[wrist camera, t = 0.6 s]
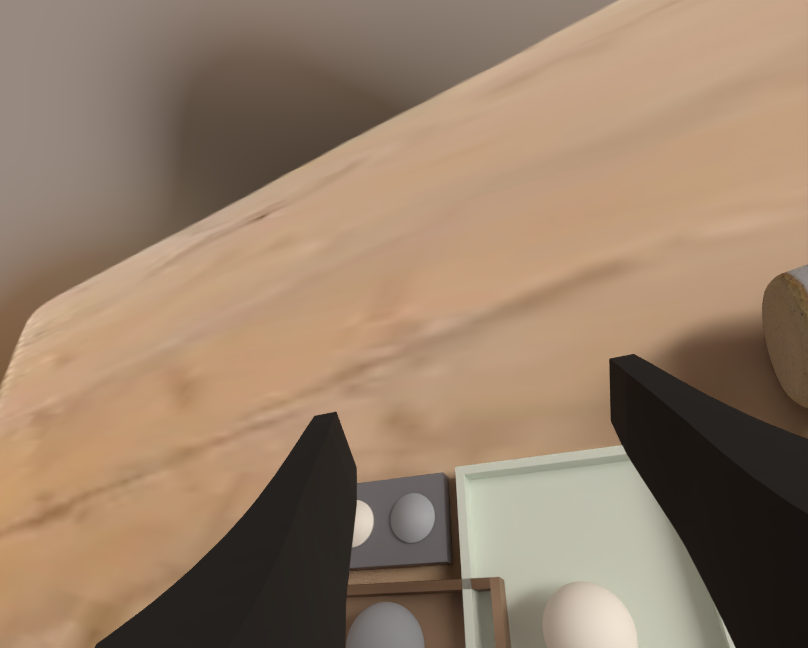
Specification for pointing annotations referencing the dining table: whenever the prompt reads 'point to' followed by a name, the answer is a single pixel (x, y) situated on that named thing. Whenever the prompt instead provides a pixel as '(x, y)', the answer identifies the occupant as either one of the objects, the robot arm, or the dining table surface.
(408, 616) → the grey ball
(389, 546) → the tile
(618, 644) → the cream ball
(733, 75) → the dining table surface
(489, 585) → the walnut tray
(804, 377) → the ceramic mug
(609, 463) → the sage tray
